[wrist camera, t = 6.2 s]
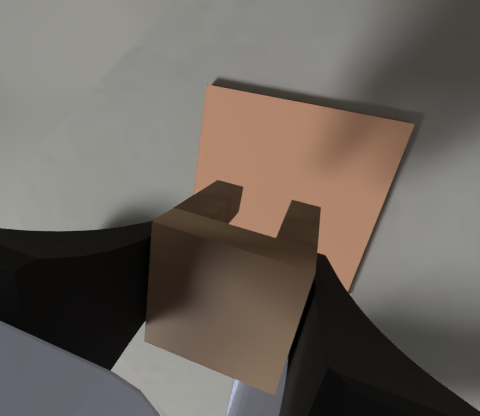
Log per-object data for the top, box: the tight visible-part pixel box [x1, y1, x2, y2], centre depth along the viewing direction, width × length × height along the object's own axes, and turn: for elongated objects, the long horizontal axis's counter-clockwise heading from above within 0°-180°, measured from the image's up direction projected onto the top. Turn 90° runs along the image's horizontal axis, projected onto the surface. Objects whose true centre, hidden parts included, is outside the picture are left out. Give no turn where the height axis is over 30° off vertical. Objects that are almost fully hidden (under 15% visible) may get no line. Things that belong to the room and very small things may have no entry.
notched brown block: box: [145, 180, 321, 395], centre depth 10 cm, size 4×4×5 cm
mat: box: [194, 85, 415, 292], centre depth 19 cm, size 12×12×1 cm
